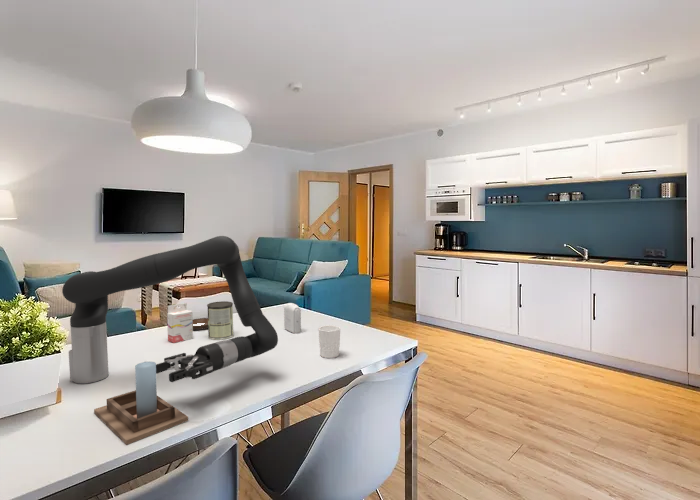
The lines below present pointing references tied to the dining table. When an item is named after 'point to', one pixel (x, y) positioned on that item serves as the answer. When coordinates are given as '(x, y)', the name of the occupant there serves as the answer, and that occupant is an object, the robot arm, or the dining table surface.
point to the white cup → (329, 341)
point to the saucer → (201, 320)
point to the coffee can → (220, 320)
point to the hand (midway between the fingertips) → (160, 374)
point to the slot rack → (129, 428)
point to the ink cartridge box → (179, 323)
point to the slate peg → (146, 388)
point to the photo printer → (292, 318)
